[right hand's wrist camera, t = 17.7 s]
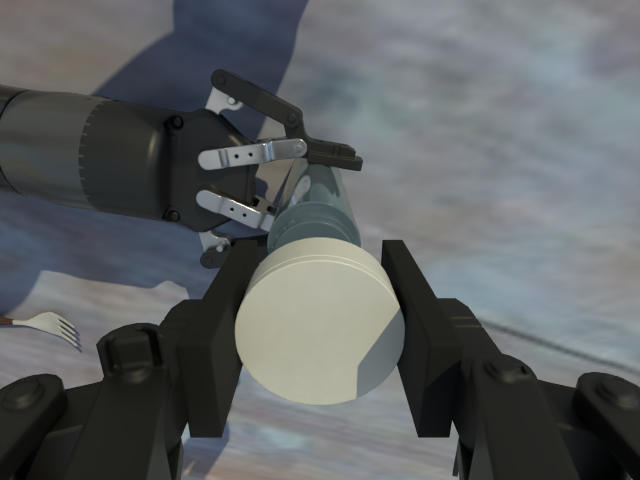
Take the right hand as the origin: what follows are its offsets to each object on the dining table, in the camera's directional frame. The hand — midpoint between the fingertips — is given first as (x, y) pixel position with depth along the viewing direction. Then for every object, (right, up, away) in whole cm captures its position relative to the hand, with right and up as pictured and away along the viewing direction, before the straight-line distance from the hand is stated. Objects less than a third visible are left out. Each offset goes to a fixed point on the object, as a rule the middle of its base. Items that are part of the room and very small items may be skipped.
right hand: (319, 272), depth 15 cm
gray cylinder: (0, +7, +18) cm, 19 cm away
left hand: (+2, +4, +12) cm, 13 cm away
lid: (0, -1, -4) cm, 4 cm away
